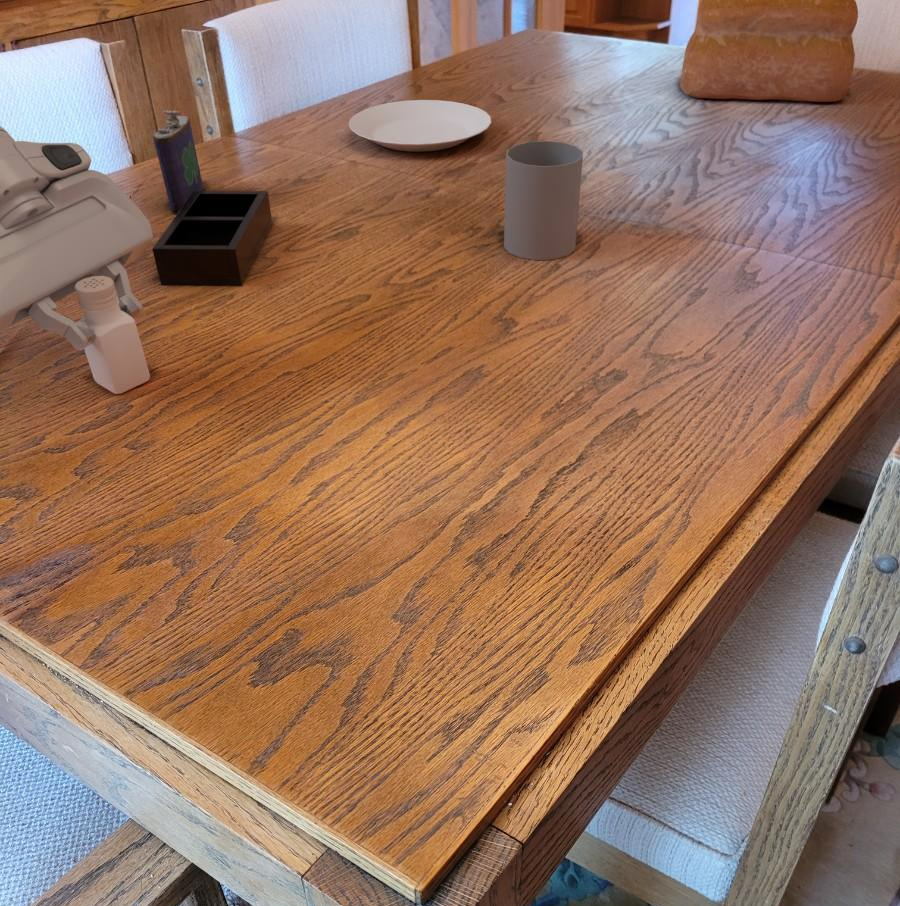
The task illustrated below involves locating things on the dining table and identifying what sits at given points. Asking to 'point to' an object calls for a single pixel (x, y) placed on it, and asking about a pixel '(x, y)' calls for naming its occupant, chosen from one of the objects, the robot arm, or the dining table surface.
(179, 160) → the flask
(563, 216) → the cup
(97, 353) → the salt shaker
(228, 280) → the box
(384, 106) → the plate
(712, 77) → the bread
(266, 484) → the dining table surface
